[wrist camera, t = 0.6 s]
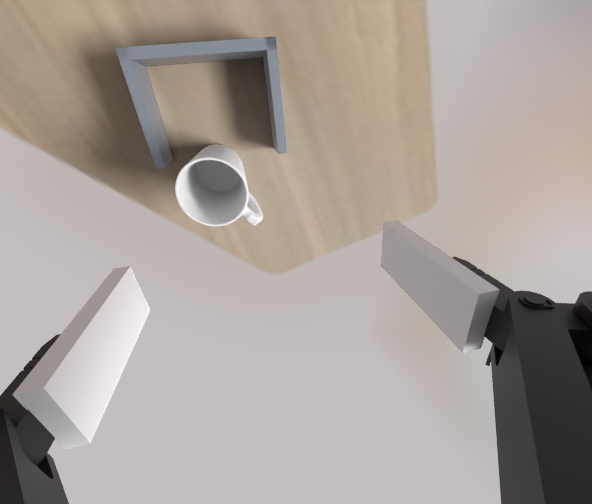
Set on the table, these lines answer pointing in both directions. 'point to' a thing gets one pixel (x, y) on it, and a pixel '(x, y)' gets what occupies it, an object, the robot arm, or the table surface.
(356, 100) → the table surface
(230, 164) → the mug
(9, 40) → the table surface
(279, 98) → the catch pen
